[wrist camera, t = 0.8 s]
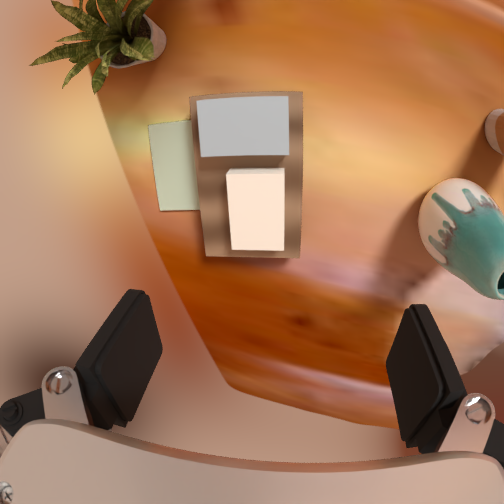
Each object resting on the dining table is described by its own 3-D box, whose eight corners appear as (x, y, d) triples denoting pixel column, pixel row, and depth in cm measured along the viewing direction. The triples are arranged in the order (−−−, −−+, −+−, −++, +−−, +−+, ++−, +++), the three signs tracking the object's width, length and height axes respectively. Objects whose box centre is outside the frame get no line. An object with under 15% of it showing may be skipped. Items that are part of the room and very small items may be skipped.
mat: (149, 124, 35) (147, 125, 34) (200, 119, 34) (200, 119, 34) (161, 209, 41) (160, 210, 40) (209, 208, 40) (208, 209, 40)
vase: (394, 222, 38) (446, 309, 23) (437, 153, 32) (521, 207, 17) (446, 256, 40) (499, 338, 24) (487, 197, 34) (560, 261, 18)
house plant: (233, 12, 27) (194, -37, 13) (183, 109, 33) (116, 128, 19) (136, -14, 24) (59, -46, 10) (95, 76, 31) (8, 87, 17)
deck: (199, 95, 32) (189, 96, 29) (300, 91, 31) (302, 91, 28) (212, 241, 43) (206, 256, 39) (299, 242, 41) (299, 258, 38)
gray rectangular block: (206, 152, 32) (201, 157, 30) (203, 99, 29) (196, 100, 27) (288, 150, 31) (289, 155, 29) (288, 96, 28) (288, 96, 26)
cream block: (230, 168, 33) (226, 174, 31) (284, 167, 32) (284, 174, 30) (235, 239, 37) (231, 249, 35) (284, 240, 37) (283, 250, 35)
